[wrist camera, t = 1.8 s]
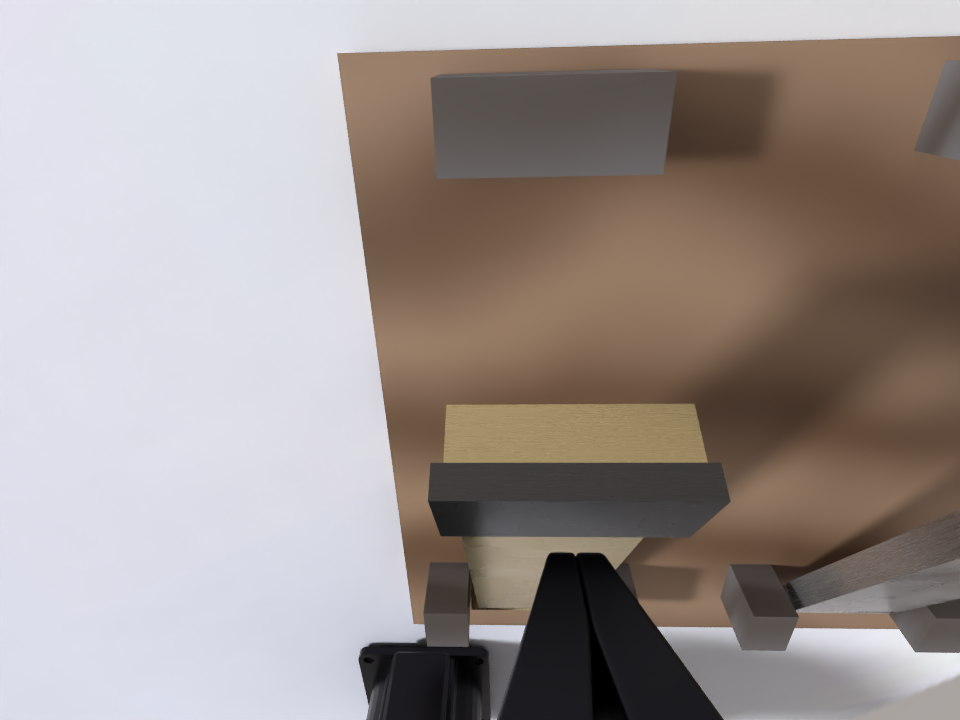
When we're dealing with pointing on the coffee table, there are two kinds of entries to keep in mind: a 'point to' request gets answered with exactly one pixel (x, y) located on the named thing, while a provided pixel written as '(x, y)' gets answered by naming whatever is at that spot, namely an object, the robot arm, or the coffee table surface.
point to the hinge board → (679, 292)
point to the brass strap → (566, 487)
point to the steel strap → (887, 574)
